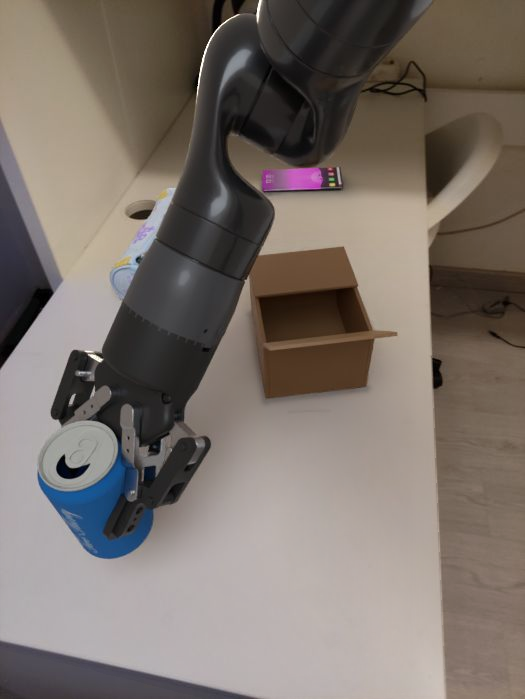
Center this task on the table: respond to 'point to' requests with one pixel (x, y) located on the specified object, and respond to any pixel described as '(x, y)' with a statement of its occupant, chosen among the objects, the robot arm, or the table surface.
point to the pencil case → (139, 245)
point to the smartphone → (302, 179)
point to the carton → (309, 321)
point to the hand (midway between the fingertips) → (86, 506)
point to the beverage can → (88, 486)
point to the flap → (328, 339)
